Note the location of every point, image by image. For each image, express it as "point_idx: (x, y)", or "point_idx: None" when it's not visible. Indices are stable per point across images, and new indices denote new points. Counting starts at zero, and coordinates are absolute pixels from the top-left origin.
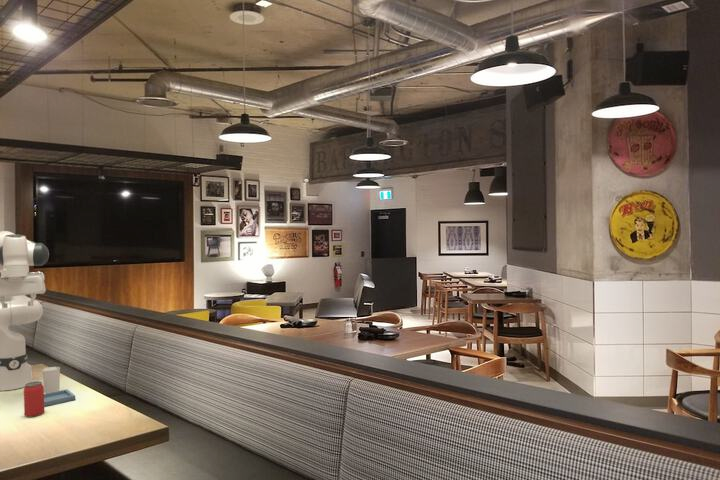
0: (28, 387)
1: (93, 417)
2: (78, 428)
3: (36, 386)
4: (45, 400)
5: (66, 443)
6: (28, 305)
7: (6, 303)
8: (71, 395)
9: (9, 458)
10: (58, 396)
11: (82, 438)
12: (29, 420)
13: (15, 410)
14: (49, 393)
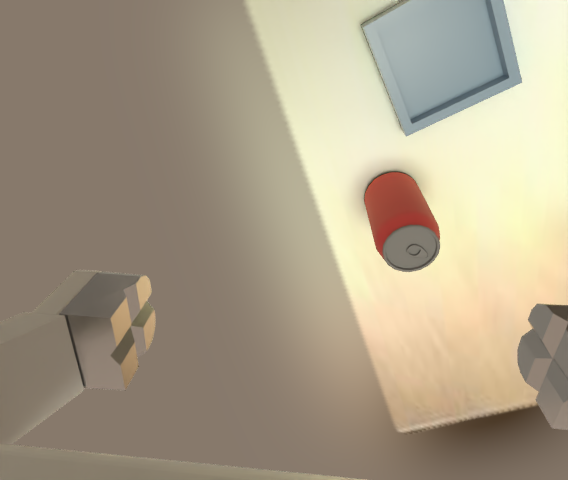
0: (396, 266)
1: (552, 267)
2: (509, 323)
3: (422, 264)
4: (405, 63)
5: (484, 381)
6: (527, 364)
7: (114, 353)
8: (507, 72)
9: (392, 405)
10: (450, 17)
11: (514, 370)
12: None
13: (319, 133)
14: (417, 9)
